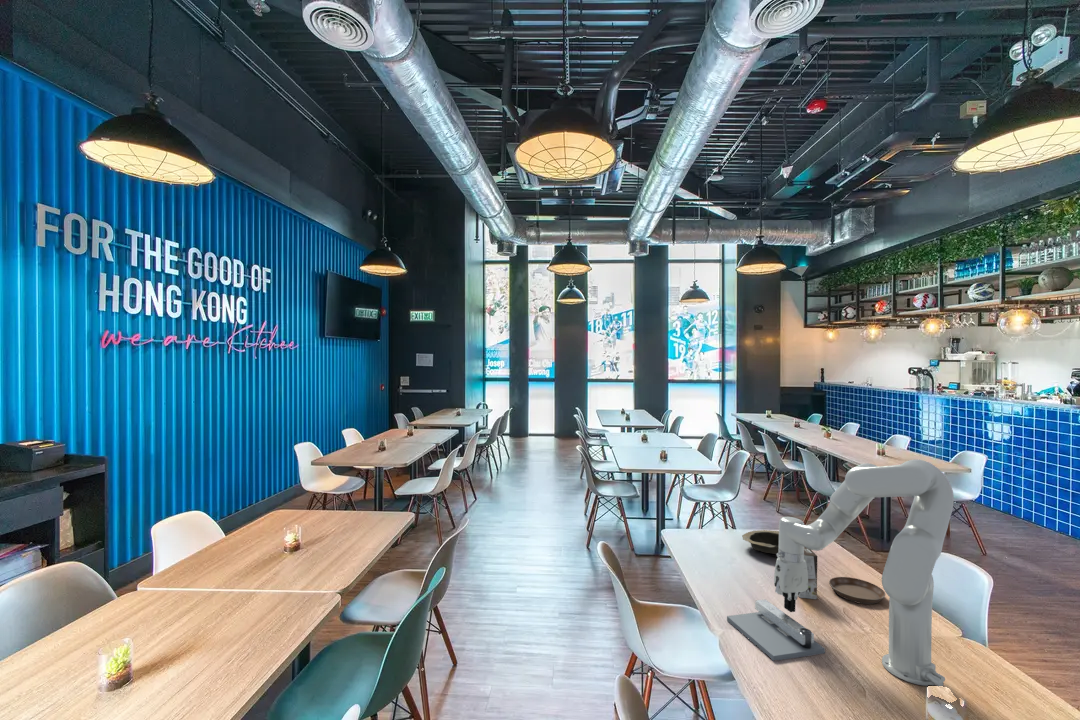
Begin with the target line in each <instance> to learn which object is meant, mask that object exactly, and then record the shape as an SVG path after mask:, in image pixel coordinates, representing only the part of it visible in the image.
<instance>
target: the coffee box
mask: <svg viewBox="0 0 1080 720" xmlns="http://www.w3.org/2000/svg"><path fill="white" fill-rule="evenodd" d="M818 558H819V556H818V555H817V554H816V553H815V552H814V550H810V549H808V548H806V547H804V560H805V561H806V565H807V571H808V589H807V590H806V591H804V592H802V593H800V594H799V595H798V598H801V599H809V600H817V599H818Z"/></svg>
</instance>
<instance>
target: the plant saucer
mask: <svg viewBox="0 0 1080 720" xmlns="http://www.w3.org/2000/svg"><path fill="white" fill-rule="evenodd" d="M828 583H829V586H830V587H831V588H832V590H833V591H834V592H835V593H836V594H837V595H838V596H839V597H841V598H843V599H846V600H849V601H851V602H855V603H859V604H864V605H874V604H877V603H880V602H881V601H882V600H883V599H884V598H885V597H886V592H885V590H884V589H883V588H881V587H880V586H878V585H876V584H875V583H872V582H869V581H867V580H863V579H860V578H855V577H849V576H835V577H832V578H830V579H829V580H828Z"/></svg>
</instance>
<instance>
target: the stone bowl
mask: <svg viewBox="0 0 1080 720" xmlns="http://www.w3.org/2000/svg"><path fill="white" fill-rule="evenodd" d="M741 536H742V540H743V541H745V542H748V543H749V544H750V546H751V548H752V549H754V551H757V552H761V553H765V554H773V555H776V554H777V553H778V551H779V530H771V529H769V530H768V529H766V530H764V529H763V530H762V529H761V530H760V529H758V530H751V531H748V532H746V533H743V534H742V535H741Z"/></svg>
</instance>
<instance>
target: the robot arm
mask: <svg viewBox="0 0 1080 720" xmlns="http://www.w3.org/2000/svg"><path fill="white" fill-rule="evenodd" d="M891 497H892V498H894V497H897V498H899V497H903V498H904V497H906V498H907V497H913V501H912V503H911V507H910V510H909V513H908V517H907V520H906V522H905V524H904V527H903V528H902V529H901V531H900V532H899V533H897V534H896V535H895V537H894V539H893V540H892V543H891V546H890V549H889V551H888V555H887V559H886V561H885V565H884V568H883V571H882V575H881V586H882V589H883V591H884V592H885V594H886V595H887V596H888V597H889V601H888V602H889V604H888V653H885V654H884V655H883V656H882V658H881V664H882V666H883V667H884V668H885V669H886V671H888V672H889V673H890V674H891V675H893V676H895V677H896V678H899V679H901V680H904V681H905V682H908V683H910V684H914V685H919V686H924V687H925V686H926V687H929V686H928V685H932V686H936V687H939V686H942V687H943V686H944V682H945V680H946V678H945V676H943V674H940V673H938V672H937V671H936V664H934V663H933V662H932V641H933V640H932V637H933V636H932V633H933V629H932V628H933V627H932V624H933V599H934V589H935V588H934V587H935V582H934V577H933V572H934V568H935V565H936V563H937V561H938V559H939V557H940V556H941V554H942V552H943V551H942V550H943V545H944V541H945V538H946V535H947V532H948V528H949V524H950V520H951V516H952V512H953V509H954V502H955V501H954V499H955V497H954V491H953V487H952V485H951V483H950V481H949V479H948V477H947V476H946V475H945V474H944V473H943V471H941V470H940V469H939V468H938V467H937V466H936V465H934V464H933V463H931V462H929V461H927V460H923V459H910V460H907V461H906V460H905V461H904V462H903V463H900V464H896V465H883V466H878V465H876V464H872V463H869V462H868V463H866V462H865V463H861V464H859V465H856V466H854V467H852V468H851V469H849V470H848V471H847V472H846V474H845V475H844V481H842V483H841V484H840V485H839V486H838V487H837V488H836V490H835V491H834V492H832V494H831V495H830V497H829V500H830V502H829V504H828V505H827V507H826V508H825V509H824V511H823V512H822V513H821V514H820V515H819V517H817V518H816V519H815V520H814V521H813V522H811V523H810V524H805V523H804V521H803V520H802V519H799V518H797V517H794V516H793V517H792V516H783V517H780V518H779V521H778V531H779V551H778V553H777V554H775V555H776V557H777V558H776V562H775V566H774V574H773V583H774V587H775V593H776V594H777V595H780V596H782V597H783V599H784V600H783V607H784V609H785V610H787V611H788V612H789V613H794V612H795V613H796V602H797V601H796V600H798V598H799V596H798V595H799V594H800V593H802V592H804V591H806V590H807V589H808V571H807V565H806V561H805V560H804V547H806V548H808V549H810V550H812V551H813V552H814V551H816V552H817V551H819V552H820V551H823V549H825V548H826V547H828V545H830V544H832V543H833V542H834V541H835V540H837V538H838V537H839V536H840V535H841V534H842V533H843V532H844V531H845V530H846V529H847V528H848V526H849V525H850V524H851V523H852V522H853V521H854V520H856V519H857V517H858V516H859V515H860V514H861V513H862V511H864V509H866V507H867V506H868V505H869V504H870V503H871V502H872V501H873V499H875V498H891Z"/></svg>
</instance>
